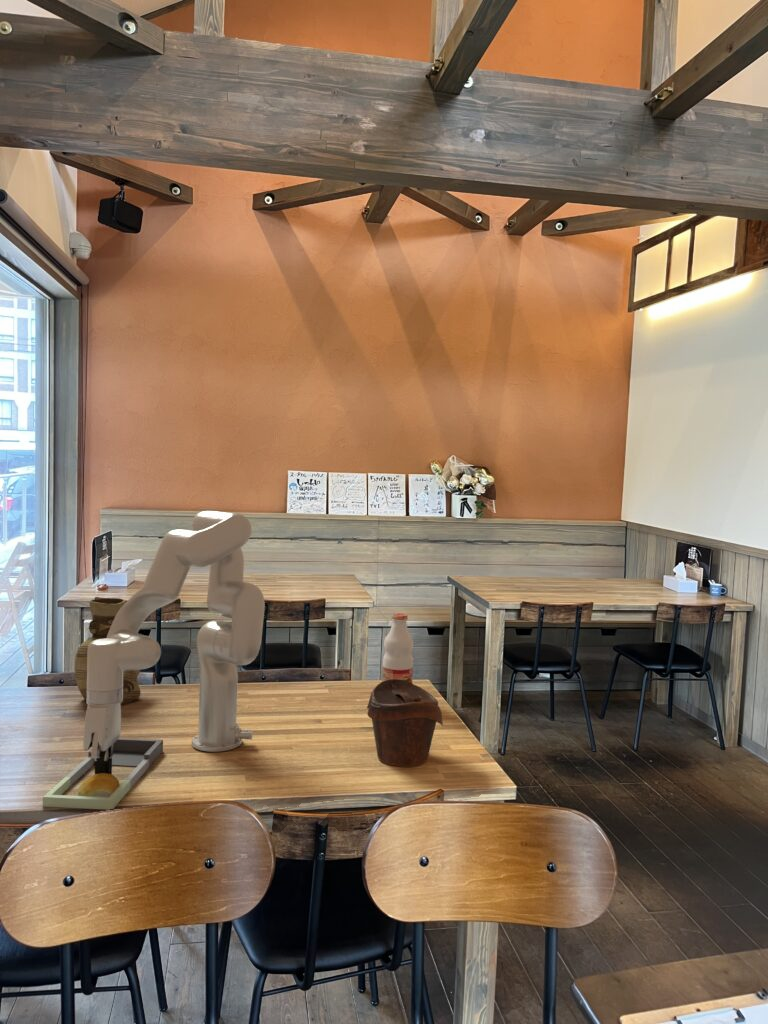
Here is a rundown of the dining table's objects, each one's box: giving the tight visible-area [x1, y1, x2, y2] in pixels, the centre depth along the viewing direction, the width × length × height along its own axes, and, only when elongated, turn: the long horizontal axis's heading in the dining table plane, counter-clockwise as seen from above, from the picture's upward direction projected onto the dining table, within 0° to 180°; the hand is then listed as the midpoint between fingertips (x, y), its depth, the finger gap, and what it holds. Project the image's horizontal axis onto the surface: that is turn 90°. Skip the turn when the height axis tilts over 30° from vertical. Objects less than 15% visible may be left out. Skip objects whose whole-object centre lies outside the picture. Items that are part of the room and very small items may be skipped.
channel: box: [42, 737, 164, 811], centre depth 166 cm, size 14×32×3 cm, turn 179°
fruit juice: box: [381, 613, 414, 684], centre depth 226 cm, size 9×9×28 cm
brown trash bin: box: [366, 679, 444, 768], centre depth 184 cm, size 18×20×18 cm
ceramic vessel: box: [74, 597, 141, 706], centre depth 221 cm, size 19×21×30 cm
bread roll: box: [77, 773, 121, 797], centre depth 158 cm, size 8×9×4 cm
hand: (103, 776), depth 163 cm, fingers closed
